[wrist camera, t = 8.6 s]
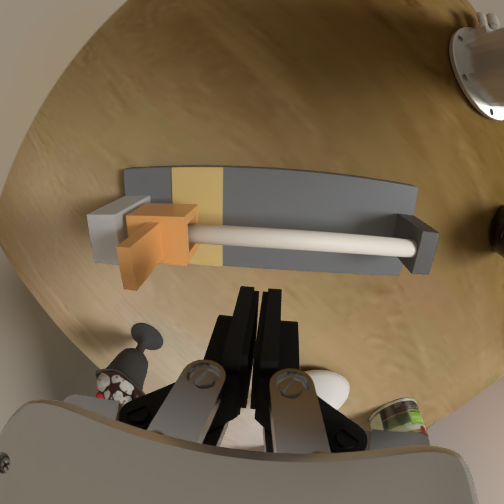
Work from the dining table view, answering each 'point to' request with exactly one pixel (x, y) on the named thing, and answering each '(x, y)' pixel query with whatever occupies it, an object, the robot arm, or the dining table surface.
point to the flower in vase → (330, 387)
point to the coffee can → (399, 417)
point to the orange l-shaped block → (155, 240)
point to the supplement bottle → (498, 232)
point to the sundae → (128, 367)
